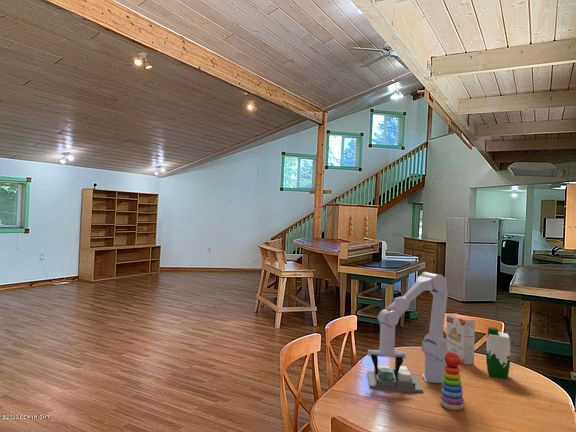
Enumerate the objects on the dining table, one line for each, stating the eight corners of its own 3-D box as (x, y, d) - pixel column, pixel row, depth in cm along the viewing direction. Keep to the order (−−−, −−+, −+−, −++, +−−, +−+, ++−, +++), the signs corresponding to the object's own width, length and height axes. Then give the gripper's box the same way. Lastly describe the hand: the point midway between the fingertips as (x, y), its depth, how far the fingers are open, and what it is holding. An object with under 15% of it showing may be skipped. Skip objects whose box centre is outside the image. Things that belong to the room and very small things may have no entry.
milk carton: (485, 370, 185) (486, 325, 185) (508, 374, 181) (509, 328, 182) (486, 377, 177) (488, 330, 177) (510, 381, 173) (511, 333, 173)
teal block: (391, 381, 166) (391, 368, 166) (392, 385, 161) (392, 372, 161) (379, 380, 166) (380, 367, 166) (380, 384, 162) (381, 371, 162)
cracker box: (444, 355, 204) (446, 313, 205) (455, 355, 206) (456, 313, 206) (463, 365, 191) (464, 320, 191) (474, 364, 192) (475, 319, 192)
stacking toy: (463, 403, 149) (464, 351, 150) (464, 413, 142) (466, 358, 142) (439, 399, 152) (441, 348, 152) (440, 408, 144) (441, 354, 145)
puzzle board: (415, 377, 174) (416, 364, 174) (423, 392, 158) (423, 378, 158) (367, 373, 176) (367, 360, 176) (369, 388, 160) (370, 373, 160)
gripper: (369, 342, 161) (368, 377, 161) (407, 344, 159) (406, 380, 159) (368, 337, 168) (367, 370, 168) (404, 339, 166) (403, 373, 166)
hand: (386, 375), depth 164 cm, fingers open, 7 cm apart
